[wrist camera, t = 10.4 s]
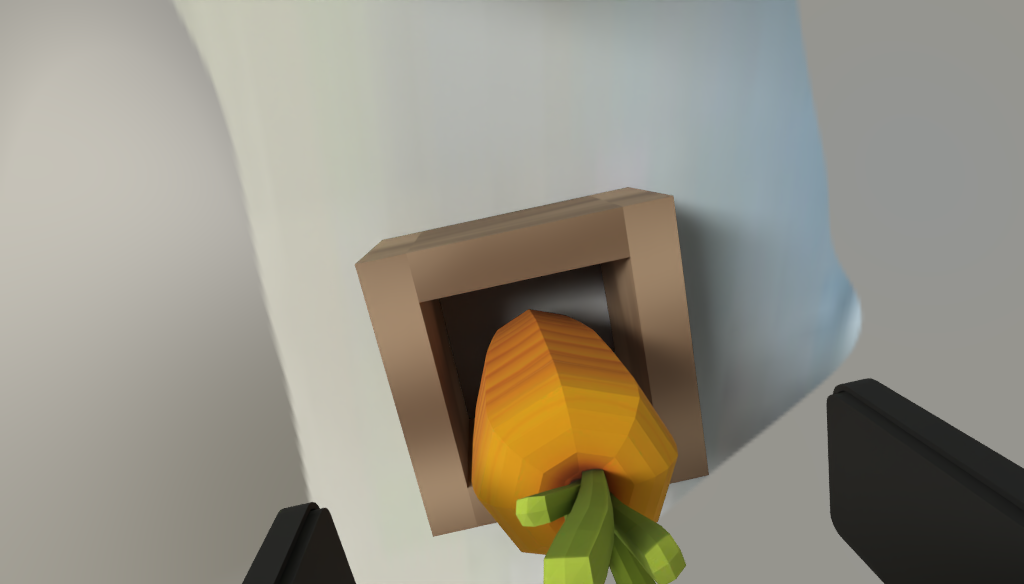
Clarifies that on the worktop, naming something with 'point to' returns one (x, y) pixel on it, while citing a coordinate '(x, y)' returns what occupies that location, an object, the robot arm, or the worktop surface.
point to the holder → (514, 257)
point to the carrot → (573, 455)
